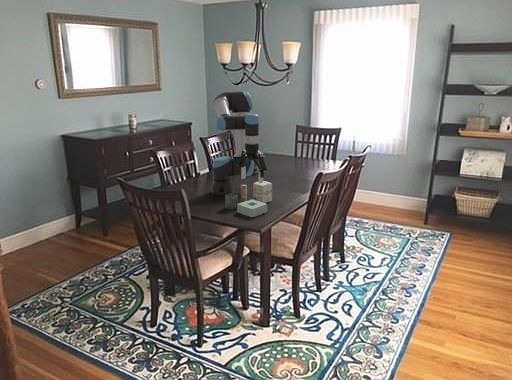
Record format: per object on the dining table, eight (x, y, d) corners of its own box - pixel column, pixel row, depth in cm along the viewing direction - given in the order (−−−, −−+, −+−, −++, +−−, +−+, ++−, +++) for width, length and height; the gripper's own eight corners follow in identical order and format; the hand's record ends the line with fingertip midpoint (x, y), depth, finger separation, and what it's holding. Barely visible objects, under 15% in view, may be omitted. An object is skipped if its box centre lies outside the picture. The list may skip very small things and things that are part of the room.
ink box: (252, 200, 251) (252, 182, 248) (262, 197, 257) (262, 180, 253) (262, 204, 245) (262, 185, 242) (272, 200, 251) (272, 182, 247)
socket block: (237, 212, 231) (237, 204, 230) (252, 207, 239) (252, 199, 238) (252, 217, 223) (252, 209, 222) (267, 212, 231) (267, 203, 230)
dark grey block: (225, 207, 239) (224, 195, 236) (232, 205, 242) (232, 192, 240) (231, 210, 235) (231, 197, 233) (238, 207, 239) (238, 194, 236)
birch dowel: (239, 204, 244) (239, 185, 241) (244, 203, 247) (243, 184, 243) (244, 206, 242) (243, 186, 238) (248, 204, 244) (248, 185, 241)
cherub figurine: (243, 168, 331) (243, 146, 326) (265, 168, 331) (265, 146, 325) (242, 173, 314) (242, 151, 309) (265, 173, 314) (265, 151, 308)
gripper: (231, 141, 225) (232, 177, 232) (263, 147, 209) (263, 186, 215) (241, 139, 231) (241, 175, 237) (273, 145, 214) (273, 183, 220)
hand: (252, 180), depth 226 cm, fingers open, 13 cm apart
